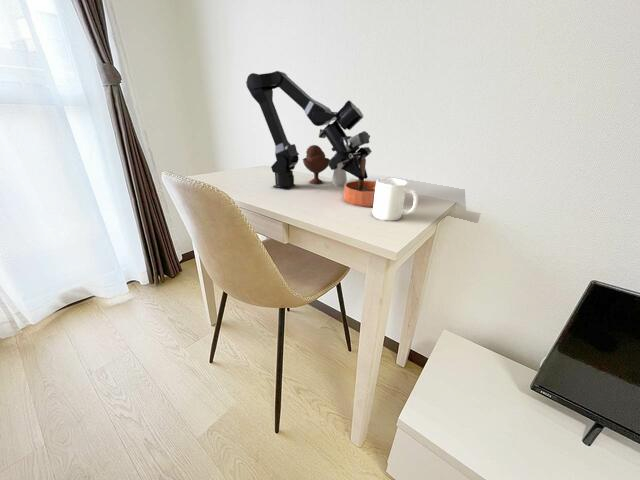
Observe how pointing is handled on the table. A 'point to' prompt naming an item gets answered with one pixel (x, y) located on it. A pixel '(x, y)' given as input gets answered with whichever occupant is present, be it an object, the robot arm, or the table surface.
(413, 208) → the cup
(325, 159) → the ice cream bowl
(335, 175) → the salt shaker
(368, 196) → the bowl
